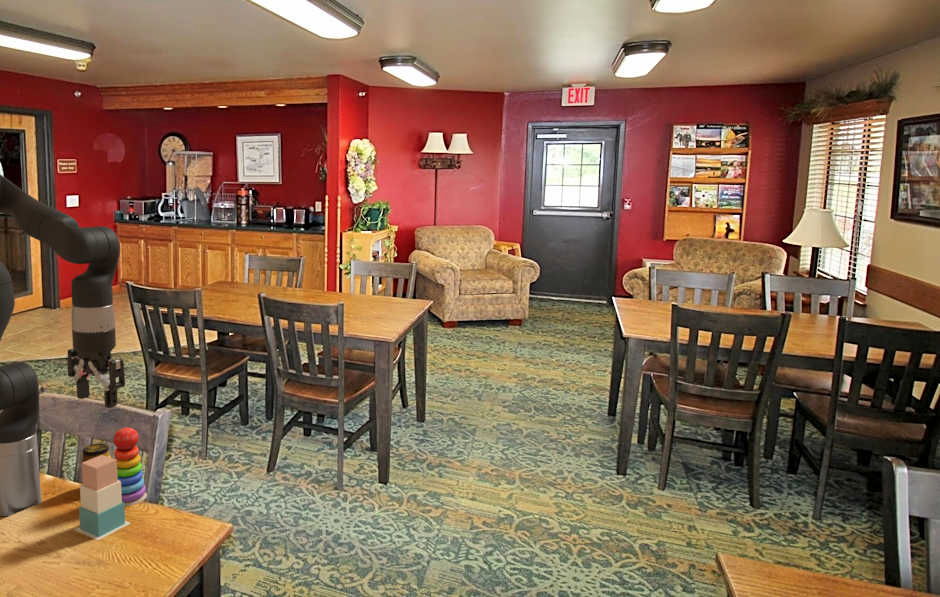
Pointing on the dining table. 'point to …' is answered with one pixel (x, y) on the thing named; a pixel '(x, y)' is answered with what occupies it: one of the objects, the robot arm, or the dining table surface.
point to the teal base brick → (102, 520)
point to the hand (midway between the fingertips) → (97, 402)
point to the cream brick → (100, 497)
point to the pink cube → (99, 472)
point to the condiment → (95, 452)
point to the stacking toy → (129, 467)
